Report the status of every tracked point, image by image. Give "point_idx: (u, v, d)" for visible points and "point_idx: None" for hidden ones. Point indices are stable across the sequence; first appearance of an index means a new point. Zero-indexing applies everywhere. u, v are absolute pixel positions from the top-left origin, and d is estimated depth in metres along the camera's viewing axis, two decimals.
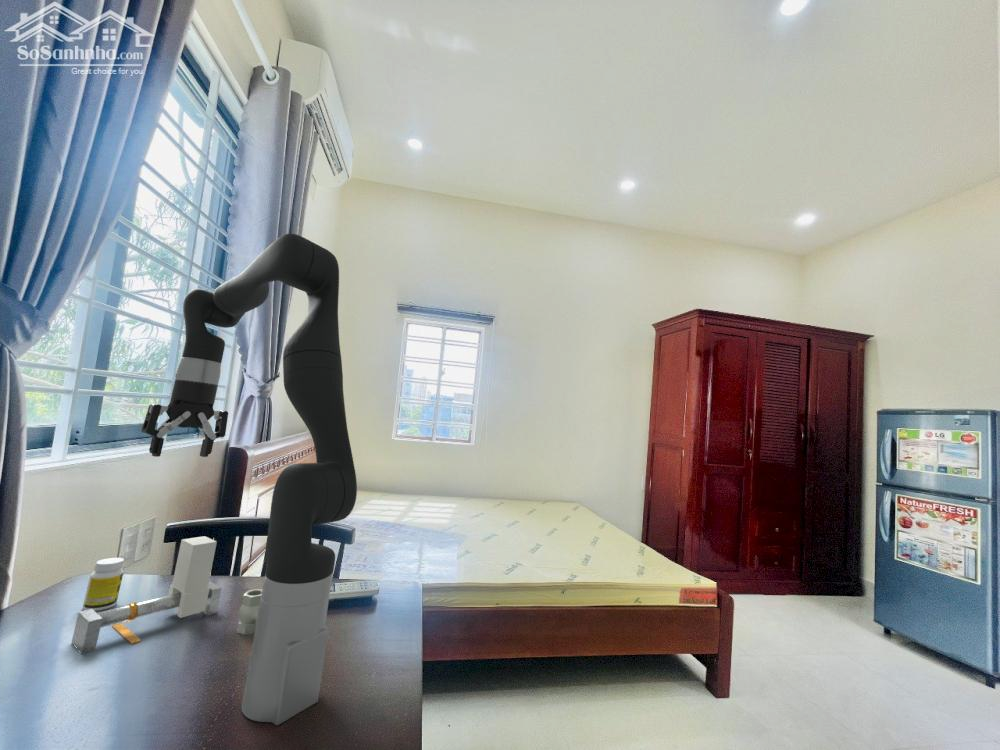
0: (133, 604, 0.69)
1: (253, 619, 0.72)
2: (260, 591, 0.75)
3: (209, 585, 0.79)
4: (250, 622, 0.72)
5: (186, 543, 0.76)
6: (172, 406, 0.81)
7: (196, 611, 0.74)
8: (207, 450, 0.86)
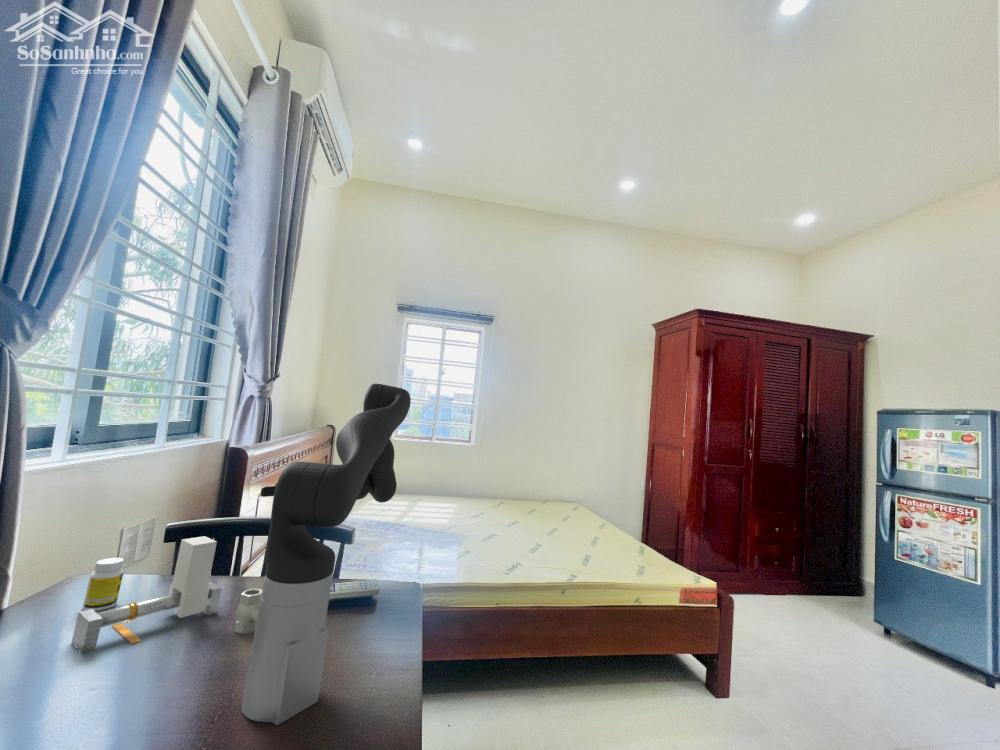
0: (133, 604, 0.69)
1: (251, 618, 0.72)
2: (258, 590, 0.75)
3: (209, 585, 0.79)
4: (248, 621, 0.72)
5: (186, 543, 0.76)
6: None
7: (196, 611, 0.74)
8: None
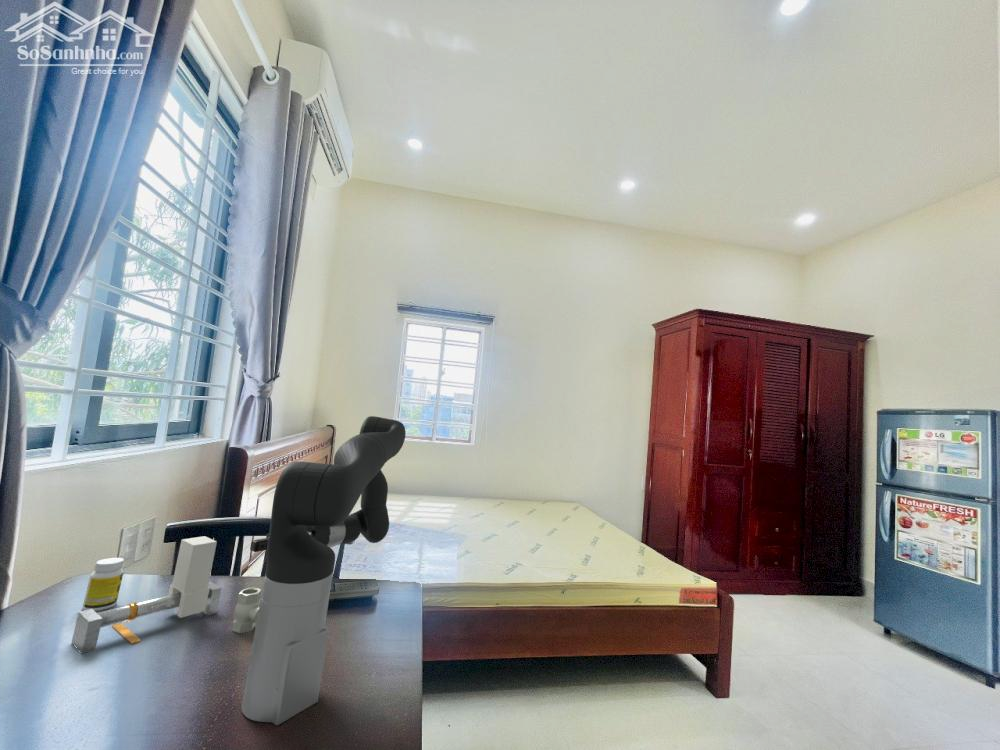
0: (133, 604, 0.69)
1: (248, 617, 0.72)
2: (255, 589, 0.76)
3: (209, 585, 0.79)
4: (245, 620, 0.72)
5: (186, 543, 0.76)
6: None
7: (196, 611, 0.74)
8: (261, 540, 0.87)
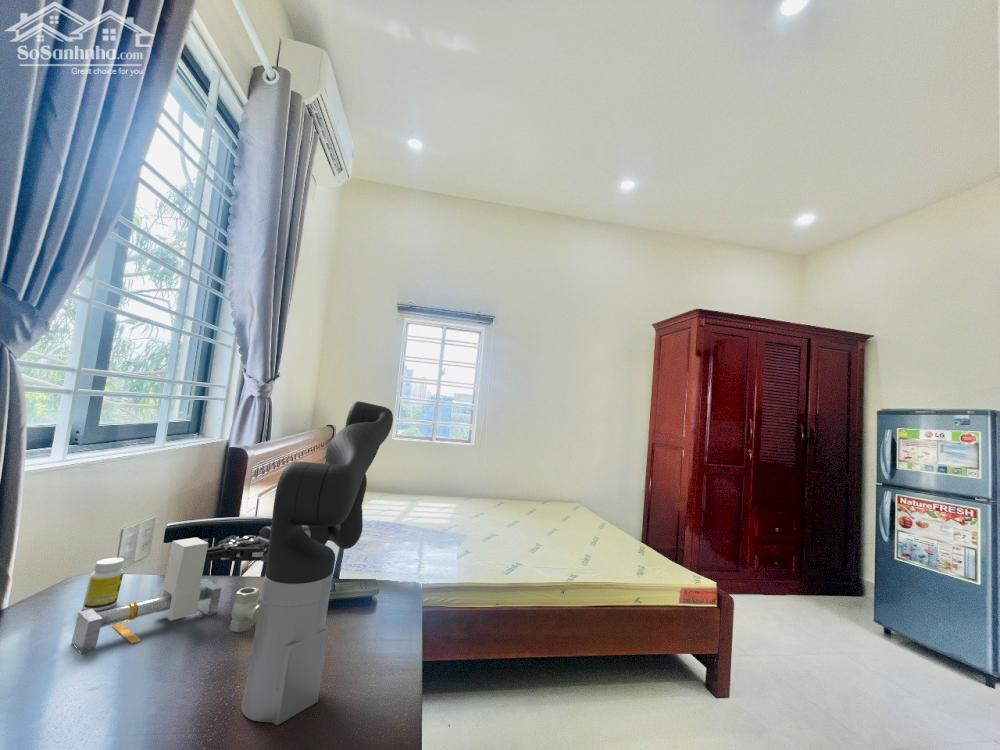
0: (133, 604, 0.69)
1: (246, 616, 0.73)
2: (253, 589, 0.76)
3: (209, 585, 0.79)
4: (243, 619, 0.72)
5: (177, 544, 0.74)
6: None
7: (187, 614, 0.73)
8: (209, 549, 0.78)
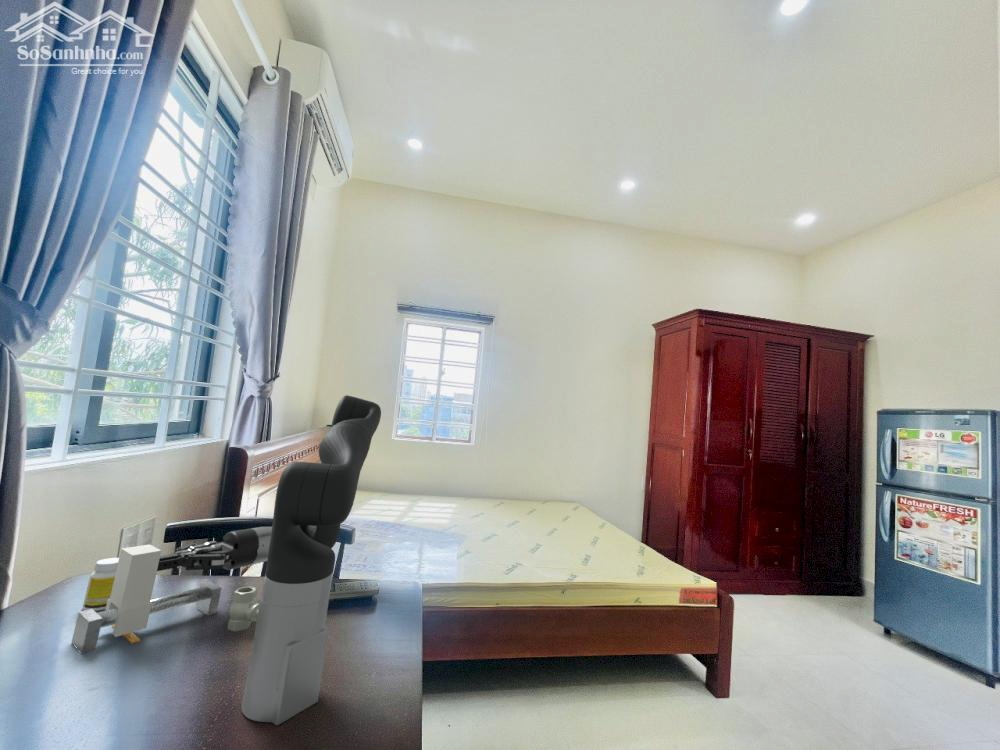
0: None
1: (244, 616, 0.73)
2: (251, 588, 0.76)
3: (209, 585, 0.79)
4: (241, 619, 0.73)
5: (125, 553, 0.68)
6: None
7: (135, 629, 0.67)
8: (163, 557, 0.72)
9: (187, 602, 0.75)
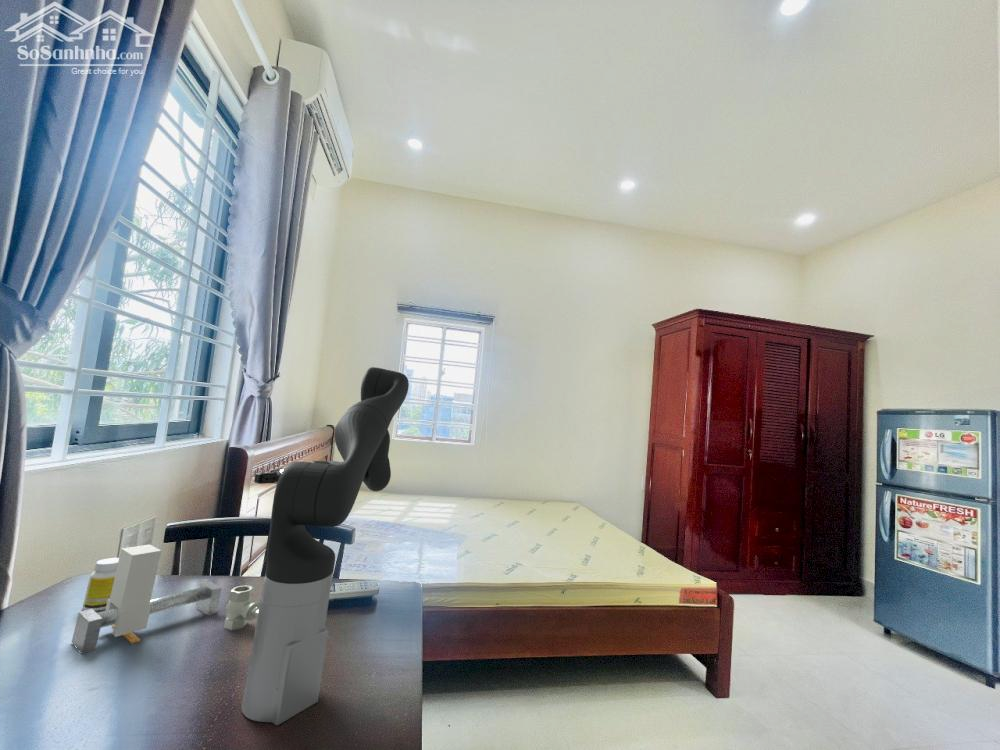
0: None
1: (240, 614, 0.73)
2: (247, 587, 0.76)
3: (209, 585, 0.79)
4: (237, 617, 0.73)
5: (125, 553, 0.68)
6: None
7: (135, 629, 0.67)
8: (265, 473, 0.88)
9: (187, 602, 0.75)
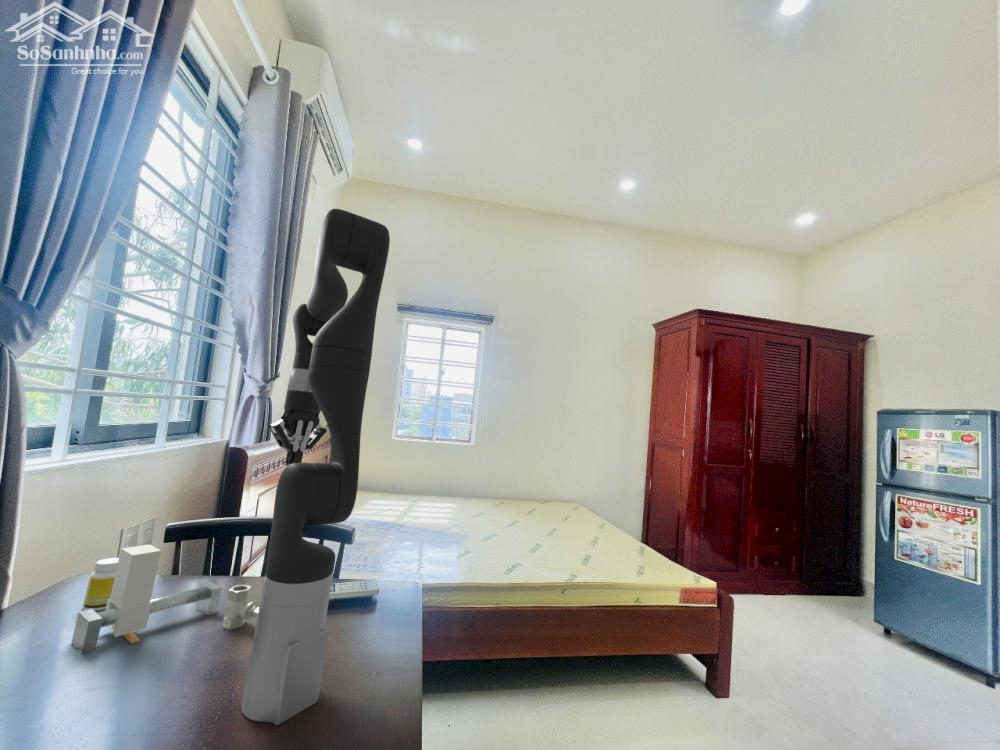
0: None
1: (238, 614, 0.73)
2: (245, 586, 0.77)
3: (209, 585, 0.79)
4: (235, 617, 0.73)
5: (125, 553, 0.68)
6: (286, 418, 0.84)
7: (135, 629, 0.67)
8: (298, 462, 0.86)
9: (187, 602, 0.75)
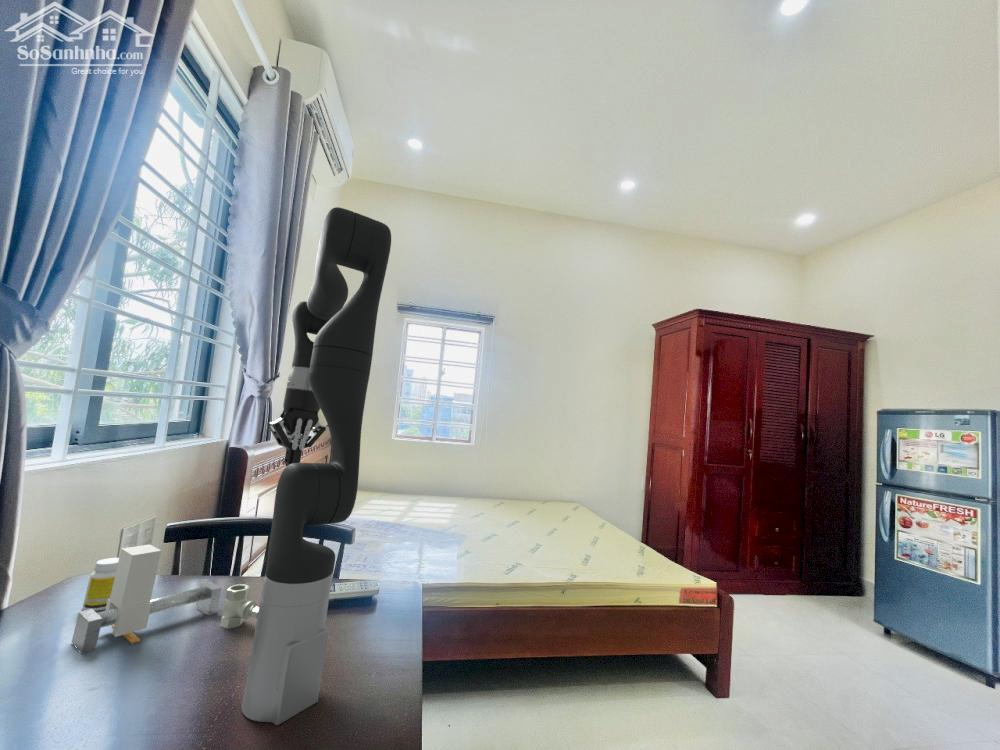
0: None
1: (236, 613, 0.73)
2: (243, 586, 0.77)
3: (209, 585, 0.79)
4: (233, 616, 0.73)
5: (125, 553, 0.68)
6: (285, 416, 0.84)
7: (135, 629, 0.67)
8: (297, 460, 0.86)
9: (187, 602, 0.75)
